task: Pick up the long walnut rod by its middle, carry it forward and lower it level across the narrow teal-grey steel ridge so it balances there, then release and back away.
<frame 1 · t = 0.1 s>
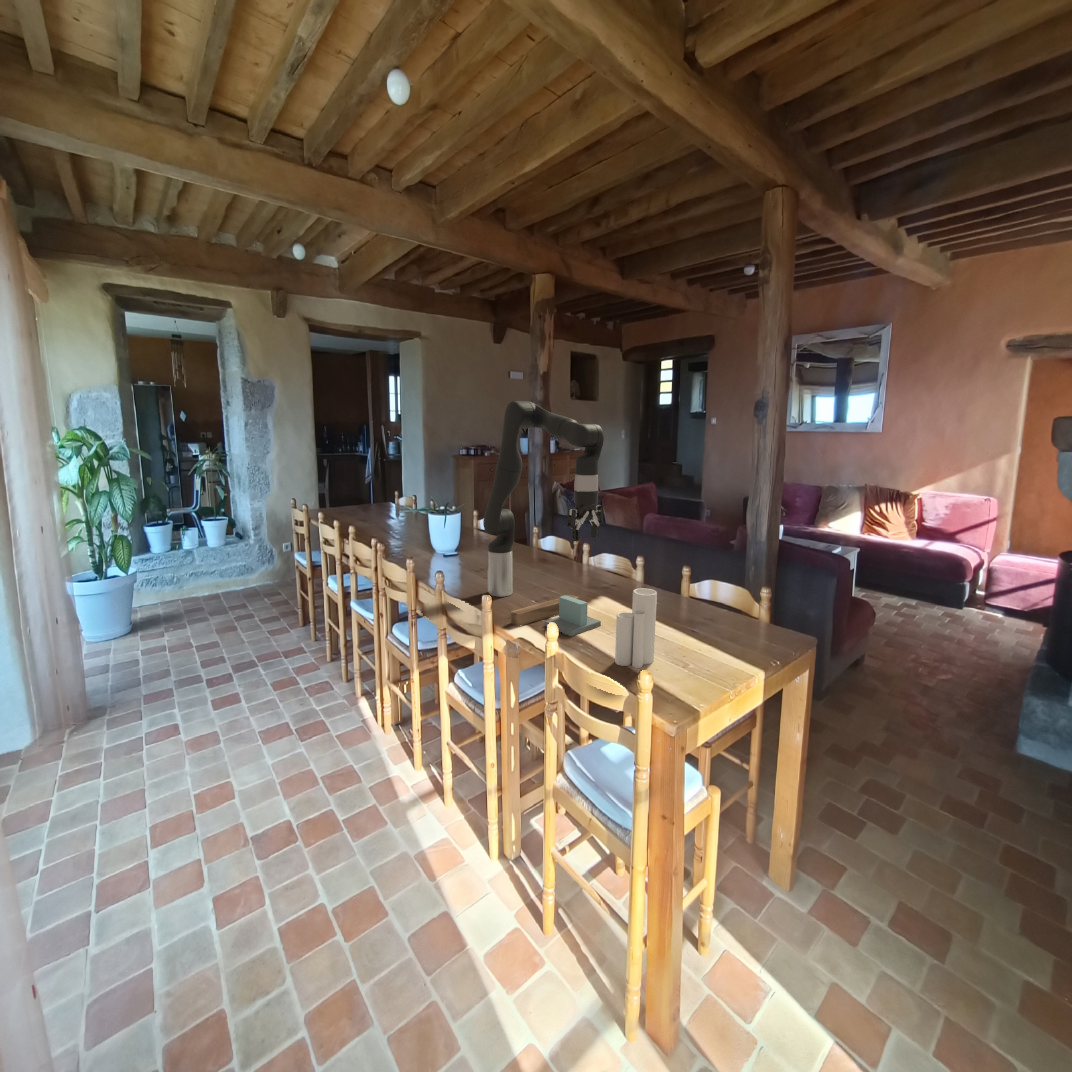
hand: (585, 539, 173), 29 cm above the table, tool pointing down, fingers open, 8 cm apart
grey joined cylinders: (635, 662, 152), on the table
walnut rod: (546, 616, 188), on the table
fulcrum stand: (572, 625, 178), on the table
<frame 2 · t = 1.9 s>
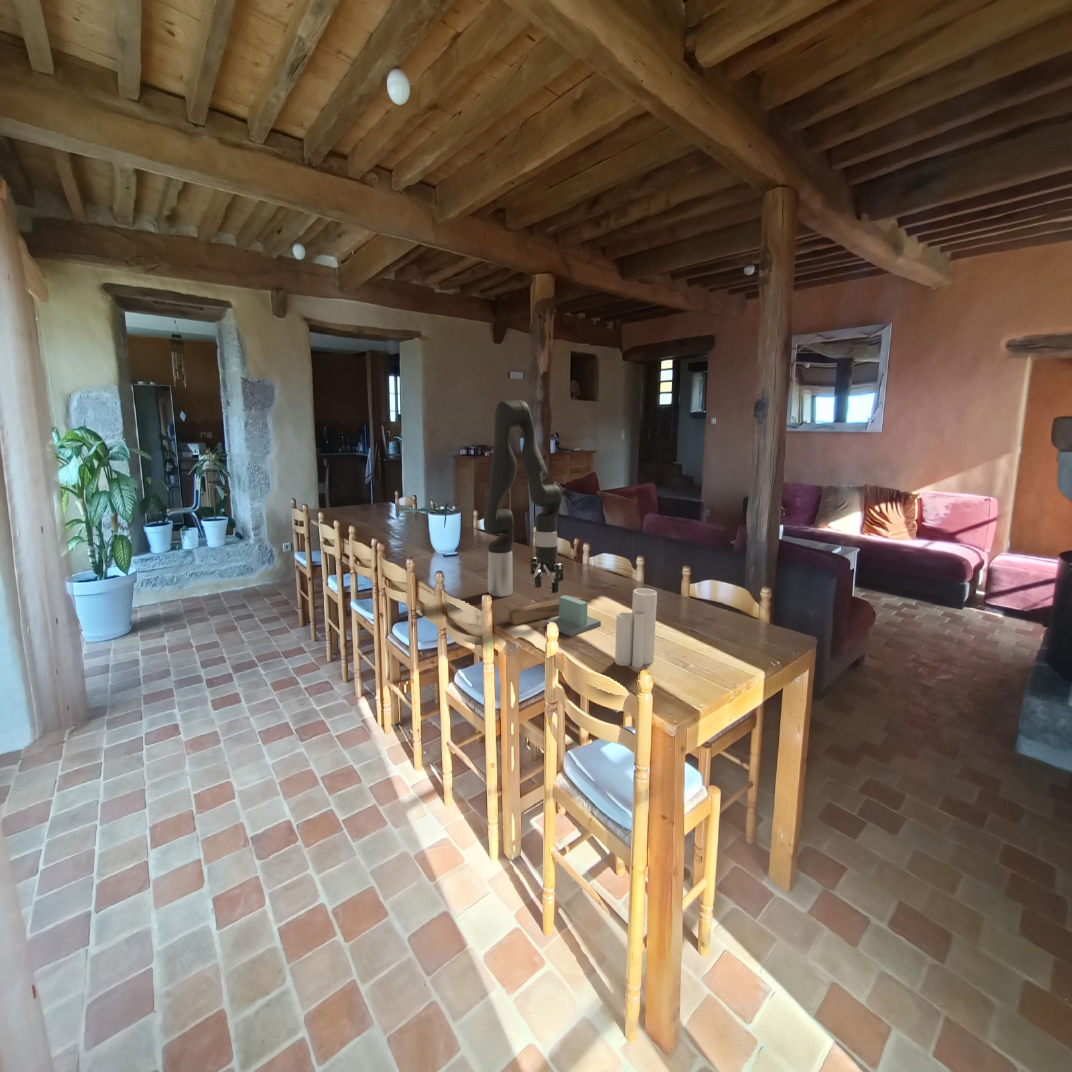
hand: (546, 589, 186), 9 cm above the table, tool pointing down, fingers open, 8 cm apart
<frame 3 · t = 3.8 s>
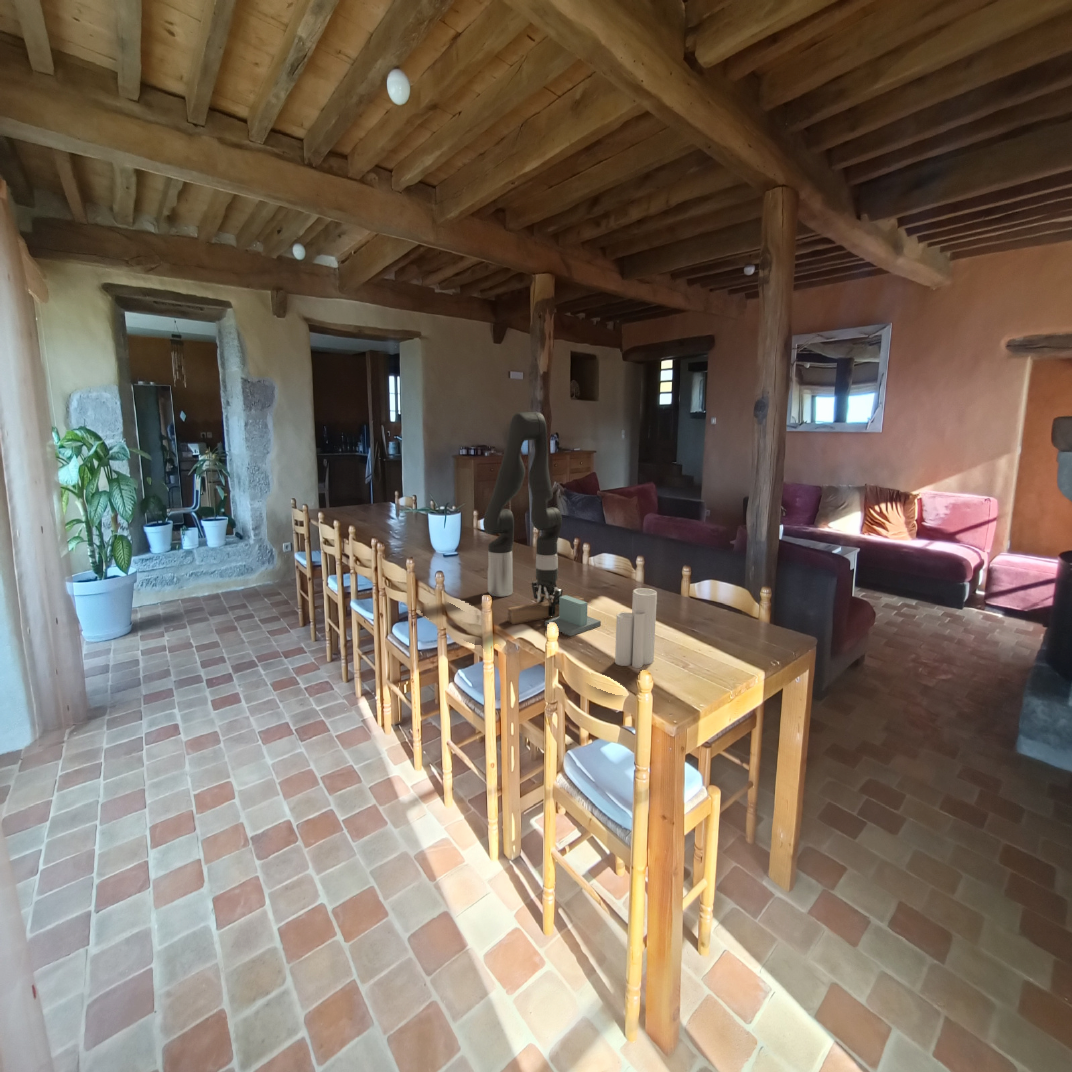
hand: (546, 613, 188), 1 cm above the table, tool pointing down, fingers closed on walnut rod, 4 cm apart
walnut rod: (546, 615, 188), on the table, touching gripper
everything else where it was.
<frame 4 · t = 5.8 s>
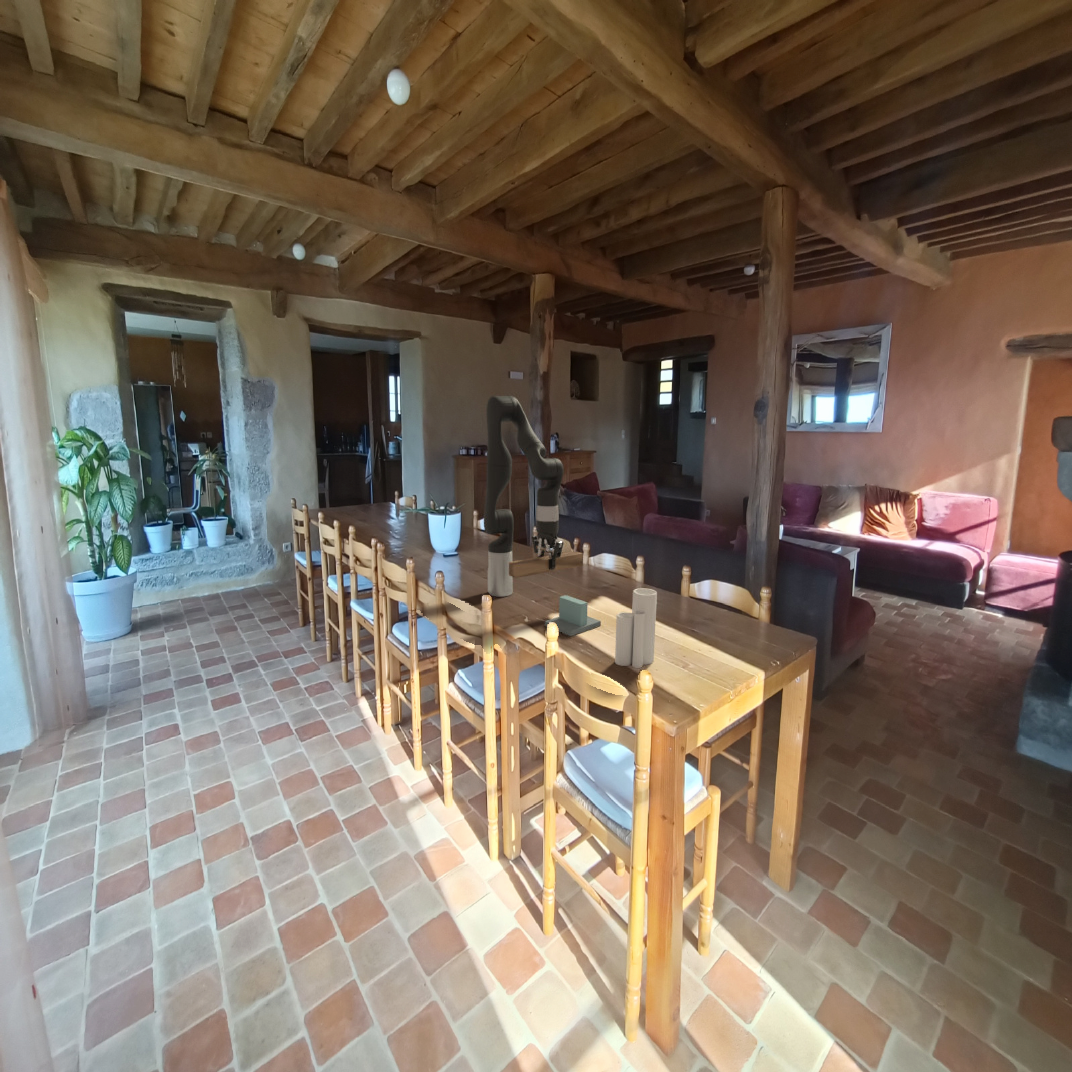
hand: (547, 567, 184), 17 cm above the table, tool pointing down, fingers closed on walnut rod, 4 cm apart
walnut rod: (546, 570, 185), point 16 cm above the table, touching gripper
everything else where it was.
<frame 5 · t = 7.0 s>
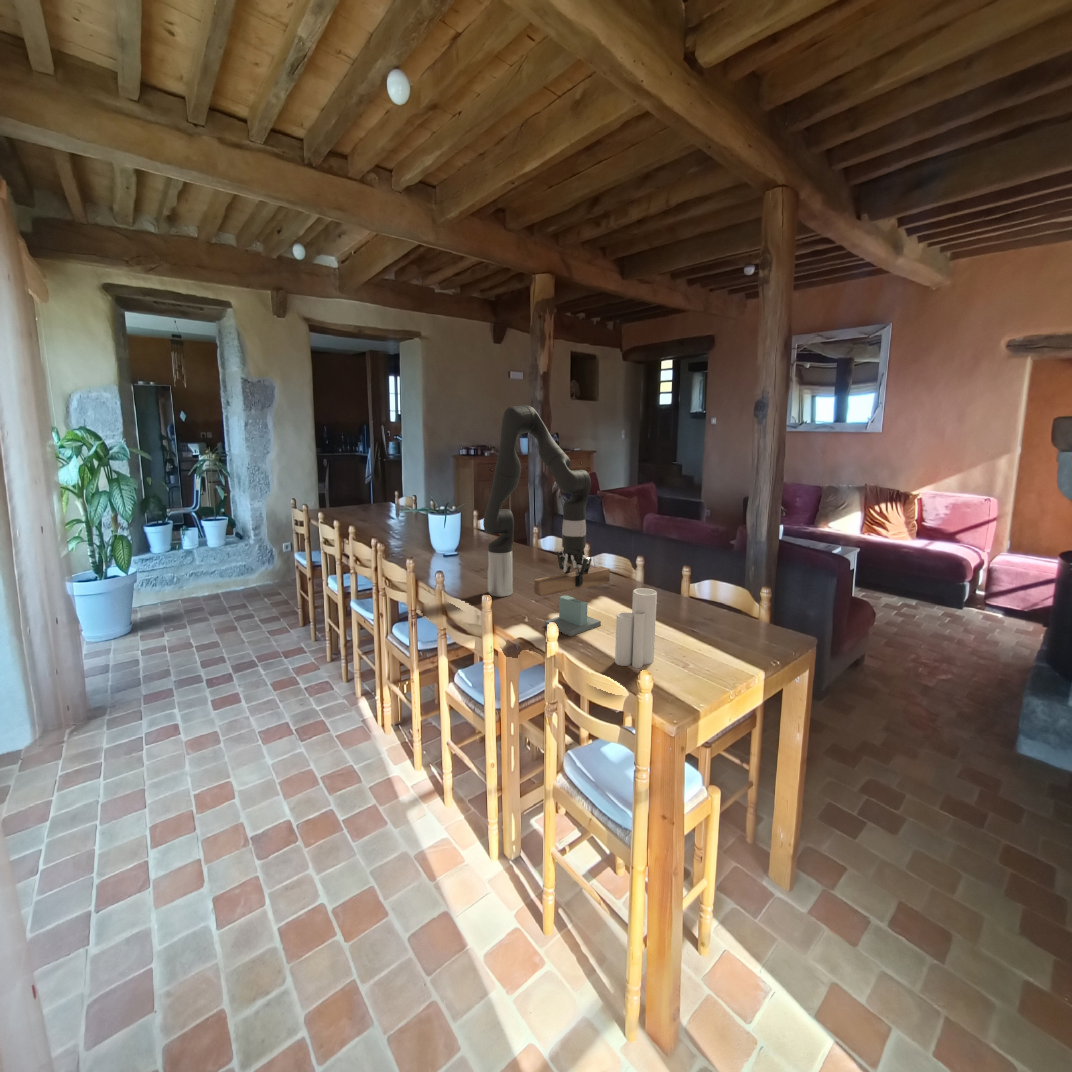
hand: (573, 584, 175), 14 cm above the table, tool pointing down, fingers closed on walnut rod, 4 cm apart
walnut rod: (573, 587, 176), point 13 cm above the table, touching gripper
everything else where it was.
when the fingers open (11 cm above the table, at t = 7.9 s): walnut rod stays where it is, resting on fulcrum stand.
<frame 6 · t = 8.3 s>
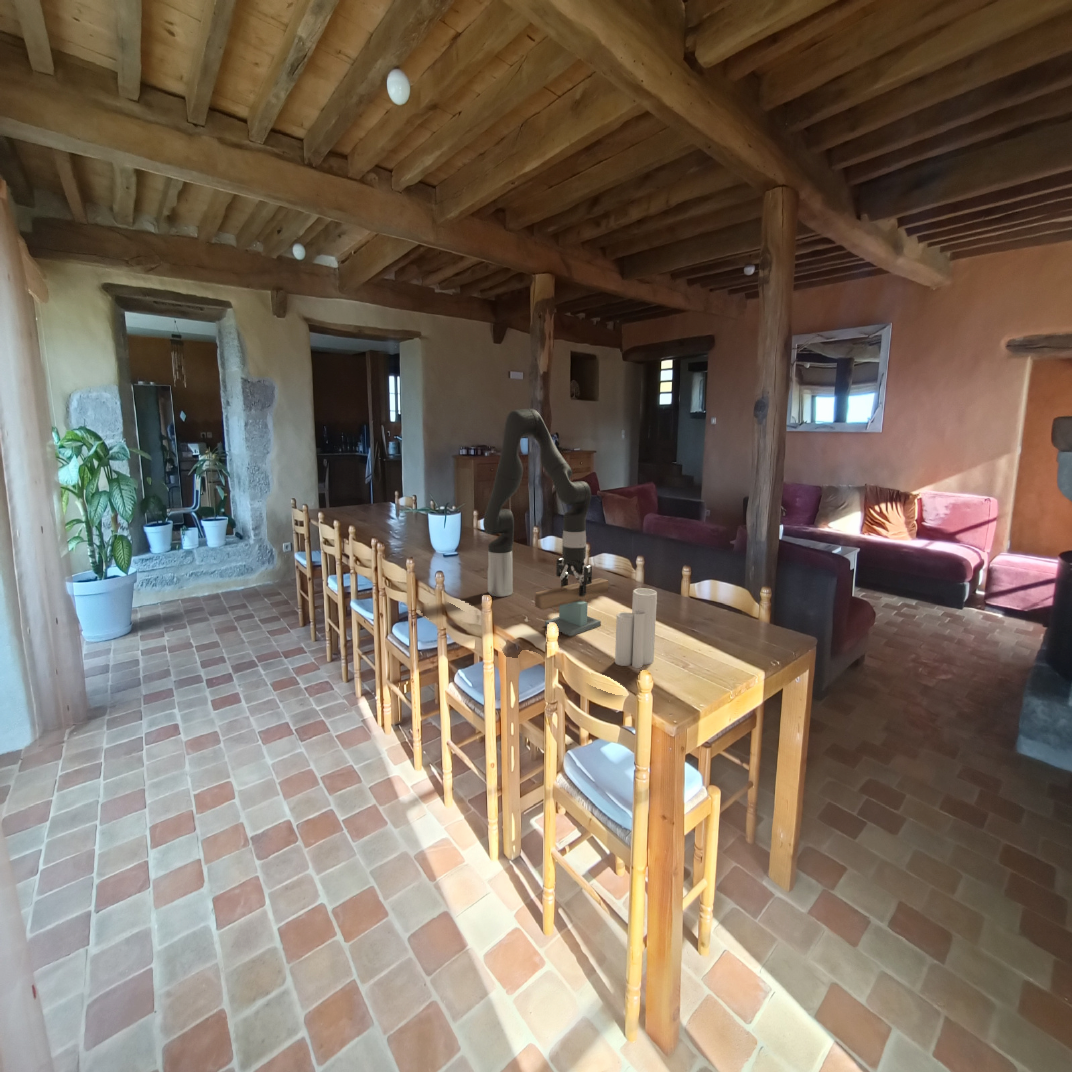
hand: (573, 593, 176), 11 cm above the table, tool pointing down, fingers open, 7 cm apart
walnut rod: (572, 599, 176), point 9 cm above the table, touching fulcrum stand
everything else where it was.
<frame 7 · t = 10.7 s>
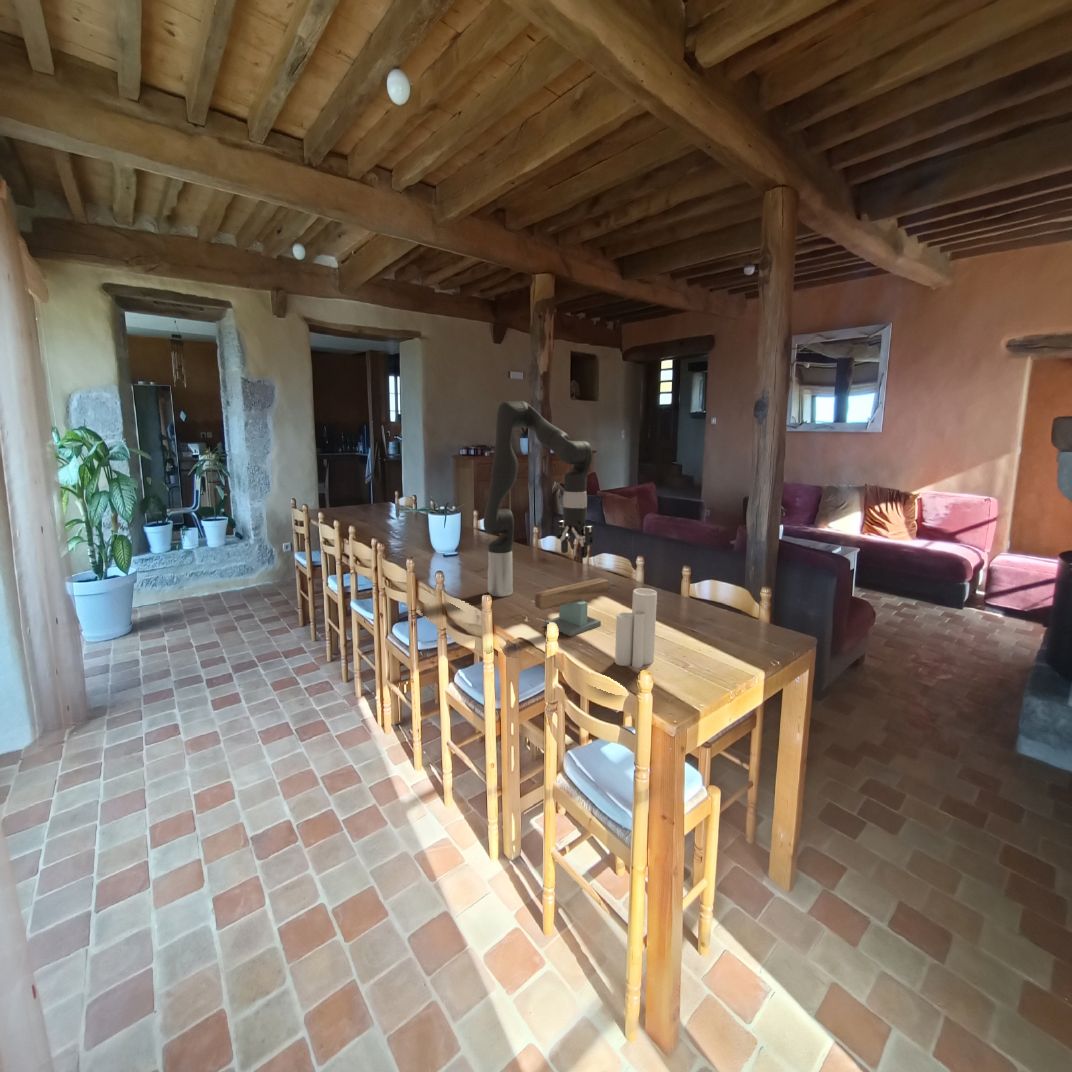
hand: (574, 555, 173), 24 cm above the table, tool pointing down, fingers open, 8 cm apart
nothing on the table moved.
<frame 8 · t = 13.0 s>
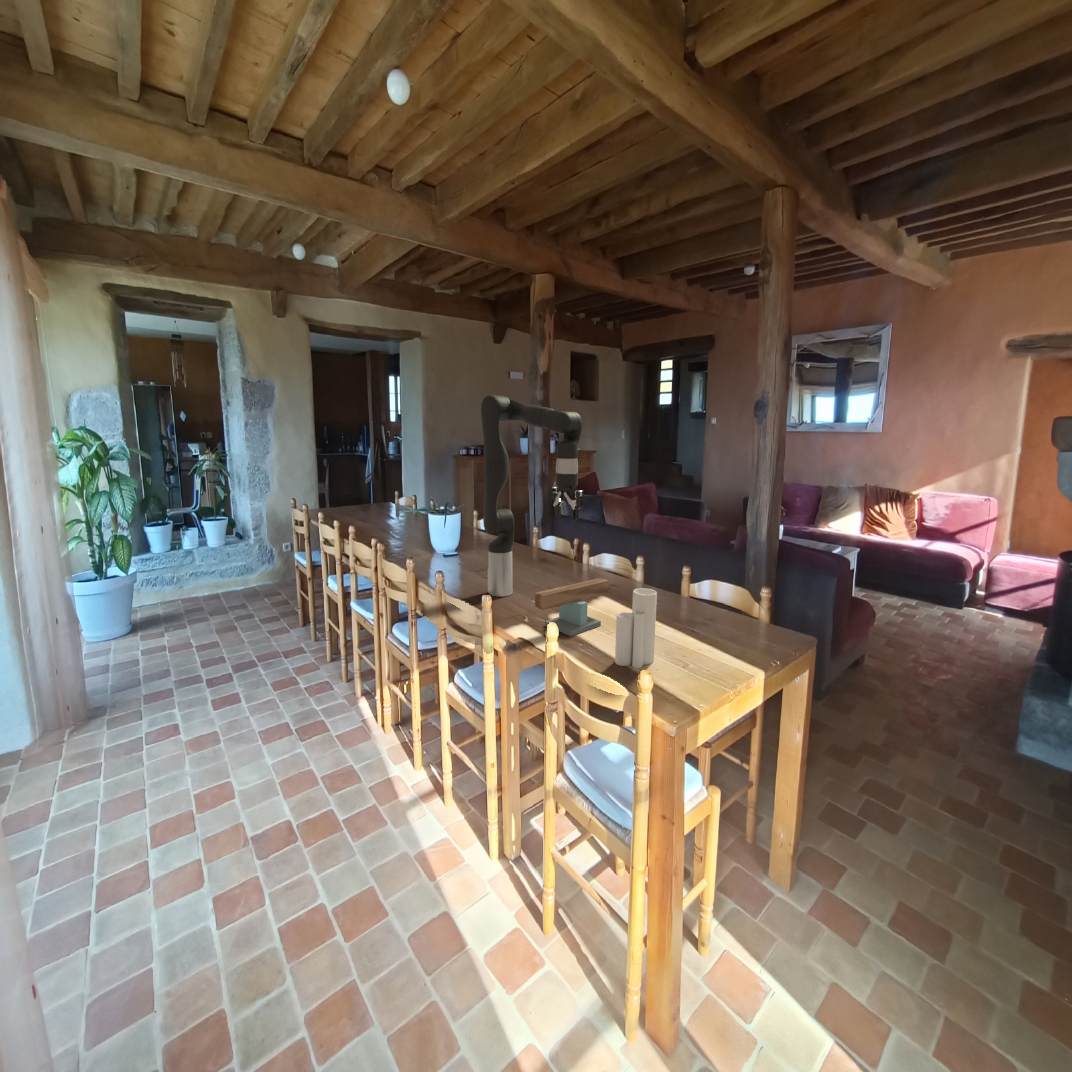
hand: (566, 518, 187), 33 cm above the table, tool pointing down, fingers open, 8 cm apart
nothing on the table moved.
at the end: walnut rod touching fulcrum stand; walnut rod point 9.0 cm above the table; walnut rod tilted 0° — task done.
